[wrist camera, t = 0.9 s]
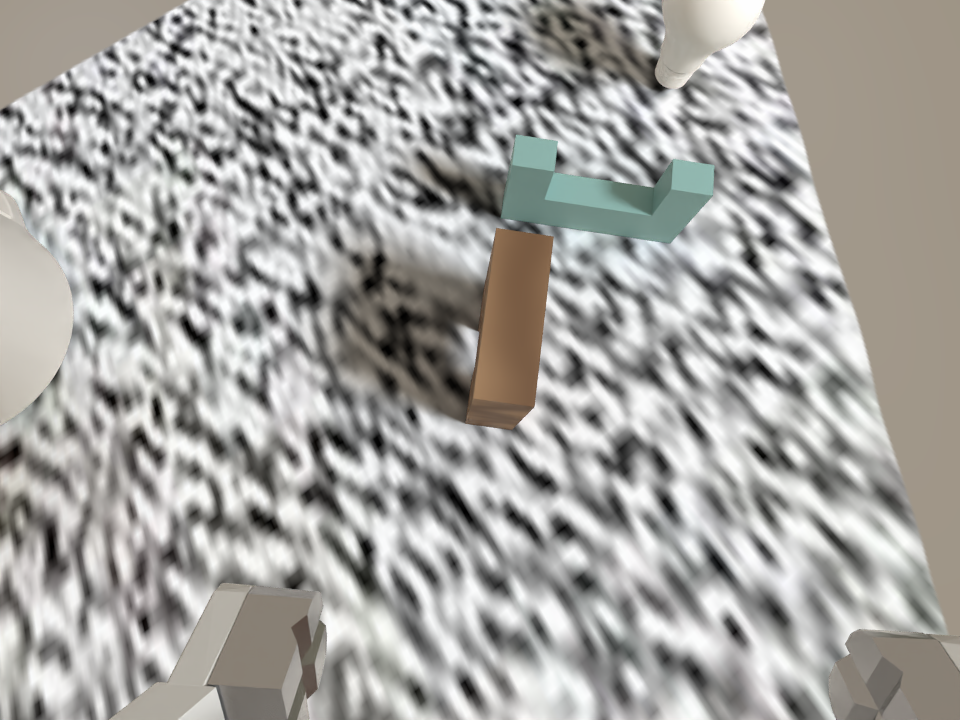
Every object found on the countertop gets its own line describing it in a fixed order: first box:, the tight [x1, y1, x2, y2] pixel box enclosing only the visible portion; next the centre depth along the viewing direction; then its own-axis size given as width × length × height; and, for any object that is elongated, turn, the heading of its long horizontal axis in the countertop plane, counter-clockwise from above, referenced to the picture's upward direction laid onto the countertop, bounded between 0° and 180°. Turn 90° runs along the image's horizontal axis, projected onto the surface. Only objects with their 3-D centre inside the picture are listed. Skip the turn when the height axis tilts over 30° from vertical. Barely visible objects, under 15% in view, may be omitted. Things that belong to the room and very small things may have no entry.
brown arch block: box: [465, 228, 553, 430], centre depth 36 cm, size 3×9×10 cm, turn 173°
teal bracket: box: [501, 135, 714, 243], centre depth 40 cm, size 12×2×7 cm, turn 83°
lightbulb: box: [655, 0, 765, 89], centre depth 41 cm, size 6×6×11 cm
